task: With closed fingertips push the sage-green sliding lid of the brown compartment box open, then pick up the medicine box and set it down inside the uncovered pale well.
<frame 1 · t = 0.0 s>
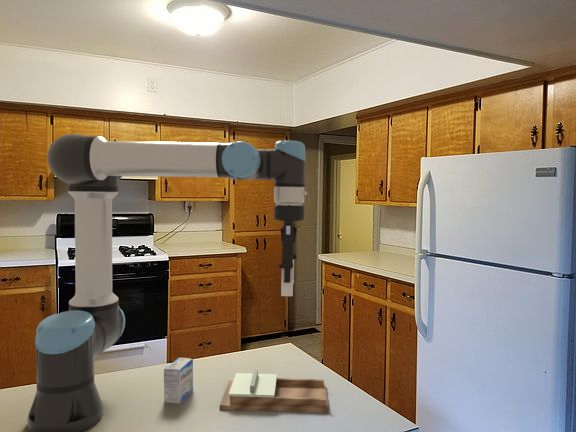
hand: (287, 289, 111), 28 cm above the counter, fingers open, 13 cm apart
medicine box: (178, 397, 113), on the counter
brown compartment box: (253, 396, 113), on the counter
lid: (254, 381, 113), point 4 cm above the counter, slide at 0.0 cm
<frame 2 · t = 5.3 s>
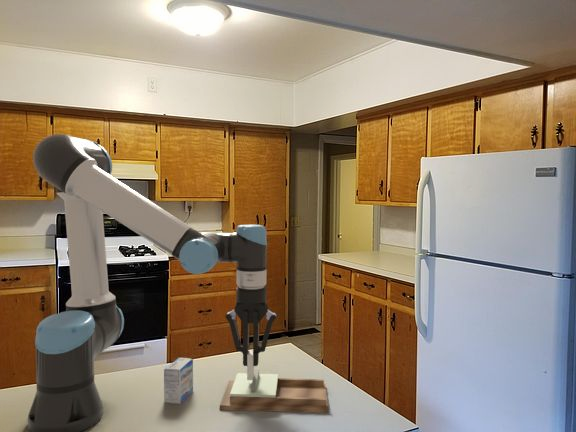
hand: (250, 377, 113), 5 cm above the counter, fingers closed
lid: (255, 381, 113), point 4 cm above the counter, slide at 0.3 cm, touching gripper
everything else where it was.
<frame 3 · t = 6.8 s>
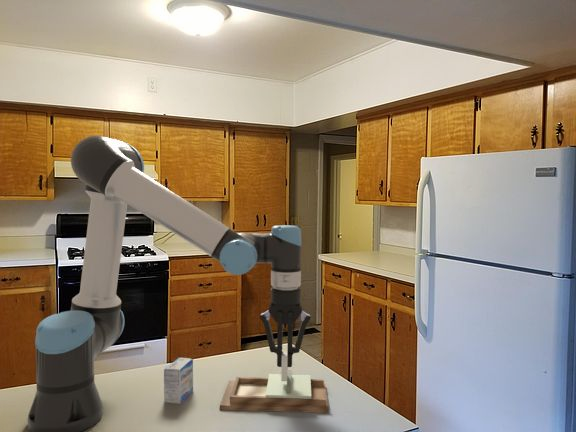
hand: (284, 378, 113), 5 cm above the counter, fingers closed
lid: (289, 382, 113), point 4 cm above the counter, slide at 8.9 cm, touching gripper
everything else where it was.
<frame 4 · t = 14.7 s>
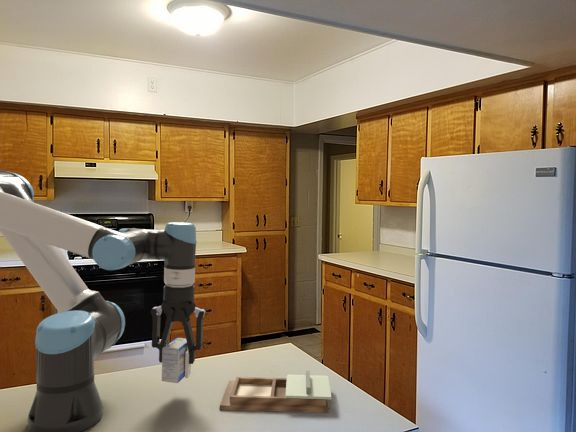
hand: (176, 374, 112), 6 cm above the counter, fingers closed on medicine box, 5 cm apart
medicine box: (176, 377, 112), point 5 cm above the counter, touching gripper
lid: (308, 383, 113), point 4 cm above the counter, slide at 13.7 cm
when the fingers open (3 cm above the counter, at t = 19.2 s): medicine box drops 1 cm, resting on brown compartment box.
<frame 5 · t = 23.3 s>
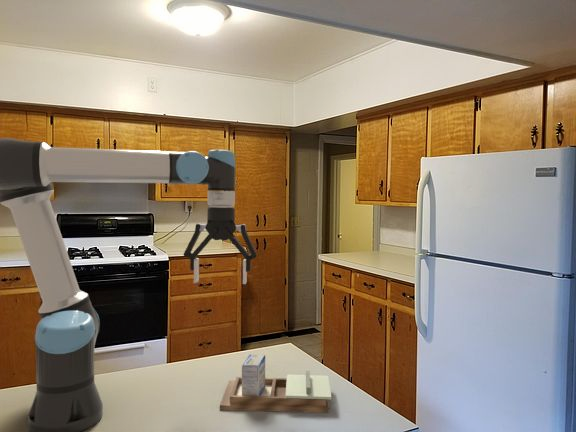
hand: (220, 282, 124), 27 cm above the counter, fingers open, 13 cm apart
medicine box: (253, 393, 113), point 1 cm above the counter, touching brown compartment box
everything else where it was.
at the end: lid slide at 13.7 cm; medicine box inside the target area on the brown compartment box (0.1 cm from its centre), point 0.9 cm above the brown compartment box's base; medicine box tilted 0° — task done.
